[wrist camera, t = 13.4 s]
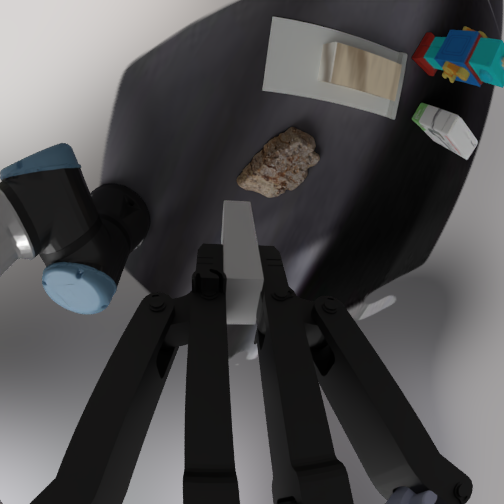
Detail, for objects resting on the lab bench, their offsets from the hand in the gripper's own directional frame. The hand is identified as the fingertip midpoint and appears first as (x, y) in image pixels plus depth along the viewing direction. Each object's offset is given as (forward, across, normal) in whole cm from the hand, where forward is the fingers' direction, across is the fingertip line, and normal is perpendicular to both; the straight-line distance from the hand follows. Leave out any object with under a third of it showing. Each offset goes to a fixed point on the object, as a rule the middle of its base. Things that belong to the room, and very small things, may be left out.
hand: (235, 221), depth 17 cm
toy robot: (+35, +36, +23) cm, 55 cm away
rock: (+35, +10, -8) cm, 37 cm away
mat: (+34, +18, +13) cm, 41 cm away
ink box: (+35, +40, +8) cm, 53 cm away
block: (+31, +14, +13) cm, 37 cm away
